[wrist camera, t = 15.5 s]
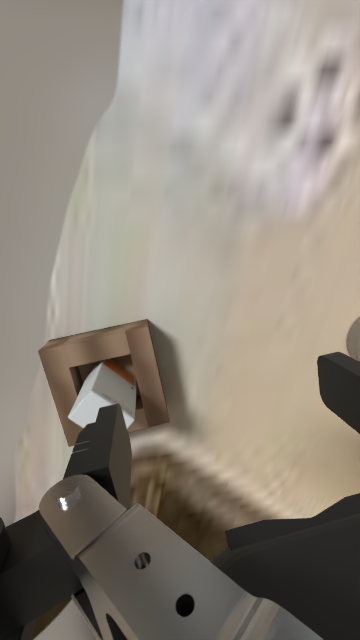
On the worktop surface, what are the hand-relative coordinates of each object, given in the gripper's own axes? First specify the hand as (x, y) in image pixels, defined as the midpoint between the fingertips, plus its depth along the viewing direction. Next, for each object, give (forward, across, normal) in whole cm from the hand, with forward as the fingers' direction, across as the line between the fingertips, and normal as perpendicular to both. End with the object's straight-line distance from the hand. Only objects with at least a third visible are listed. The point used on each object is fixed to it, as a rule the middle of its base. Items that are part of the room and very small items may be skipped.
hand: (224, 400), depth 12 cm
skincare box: (+31, +10, +10) cm, 34 cm away
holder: (+32, +10, +10) cm, 35 cm away
